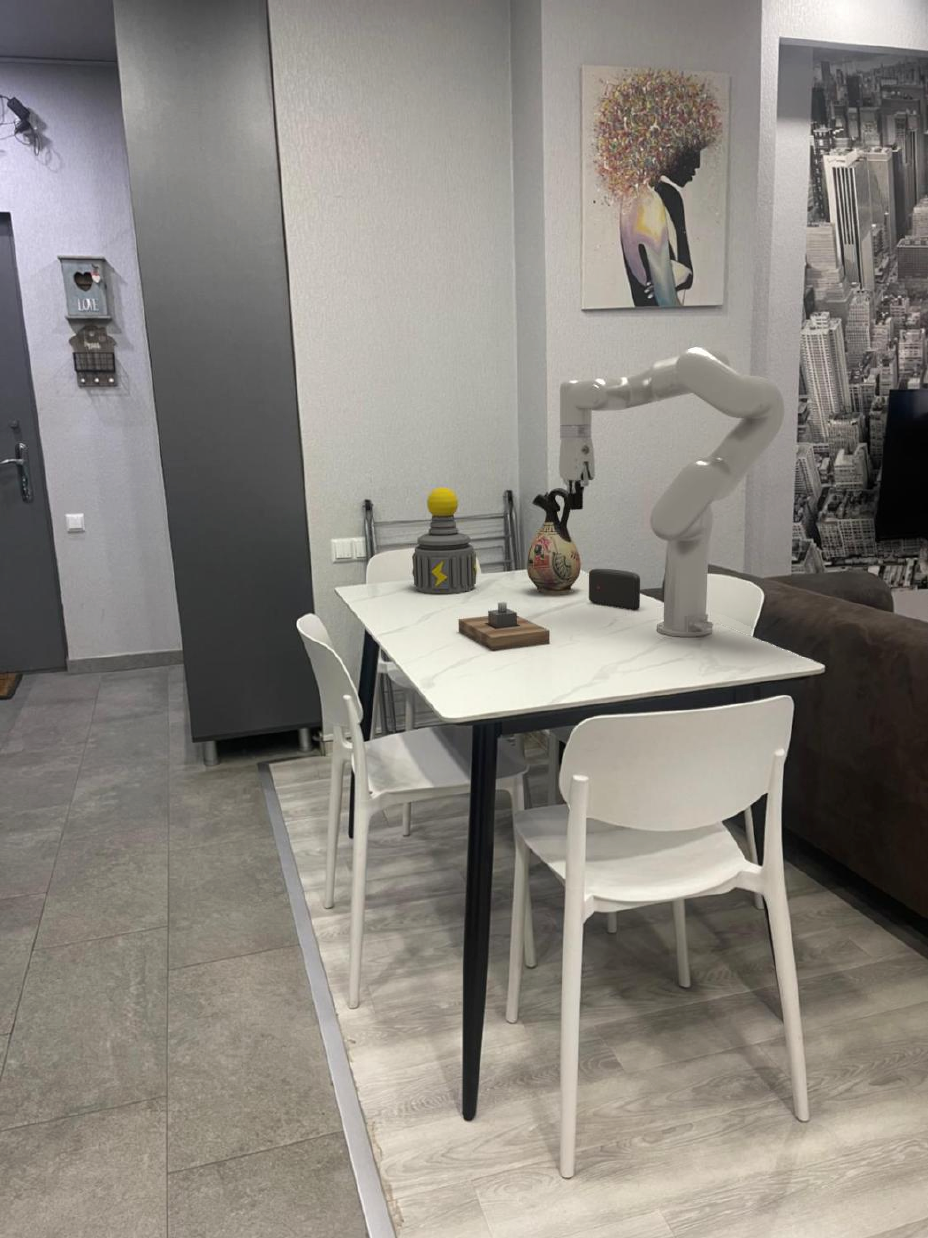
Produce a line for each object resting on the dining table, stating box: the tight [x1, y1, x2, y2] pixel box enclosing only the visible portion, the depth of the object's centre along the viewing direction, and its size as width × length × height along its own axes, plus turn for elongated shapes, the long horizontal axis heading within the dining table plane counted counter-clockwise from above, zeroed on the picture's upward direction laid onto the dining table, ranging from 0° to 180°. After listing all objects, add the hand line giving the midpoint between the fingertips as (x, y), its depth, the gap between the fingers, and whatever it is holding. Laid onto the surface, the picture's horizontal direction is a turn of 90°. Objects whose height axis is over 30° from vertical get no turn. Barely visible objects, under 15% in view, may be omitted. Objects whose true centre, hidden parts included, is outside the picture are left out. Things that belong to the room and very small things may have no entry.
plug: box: [487, 601, 518, 629], centre depth 205 cm, size 5×5×7 cm
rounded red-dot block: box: [588, 568, 641, 611], centre depth 235 cm, size 16×5×9 cm, turn 43°
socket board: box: [458, 615, 551, 652], centre depth 206 cm, size 20×14×3 cm
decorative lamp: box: [411, 486, 478, 595], centre depth 262 cm, size 19×19×30 cm
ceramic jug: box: [526, 487, 584, 596], centre depth 252 cm, size 17×15×30 cm
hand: (575, 509), depth 219 cm, fingers closed
